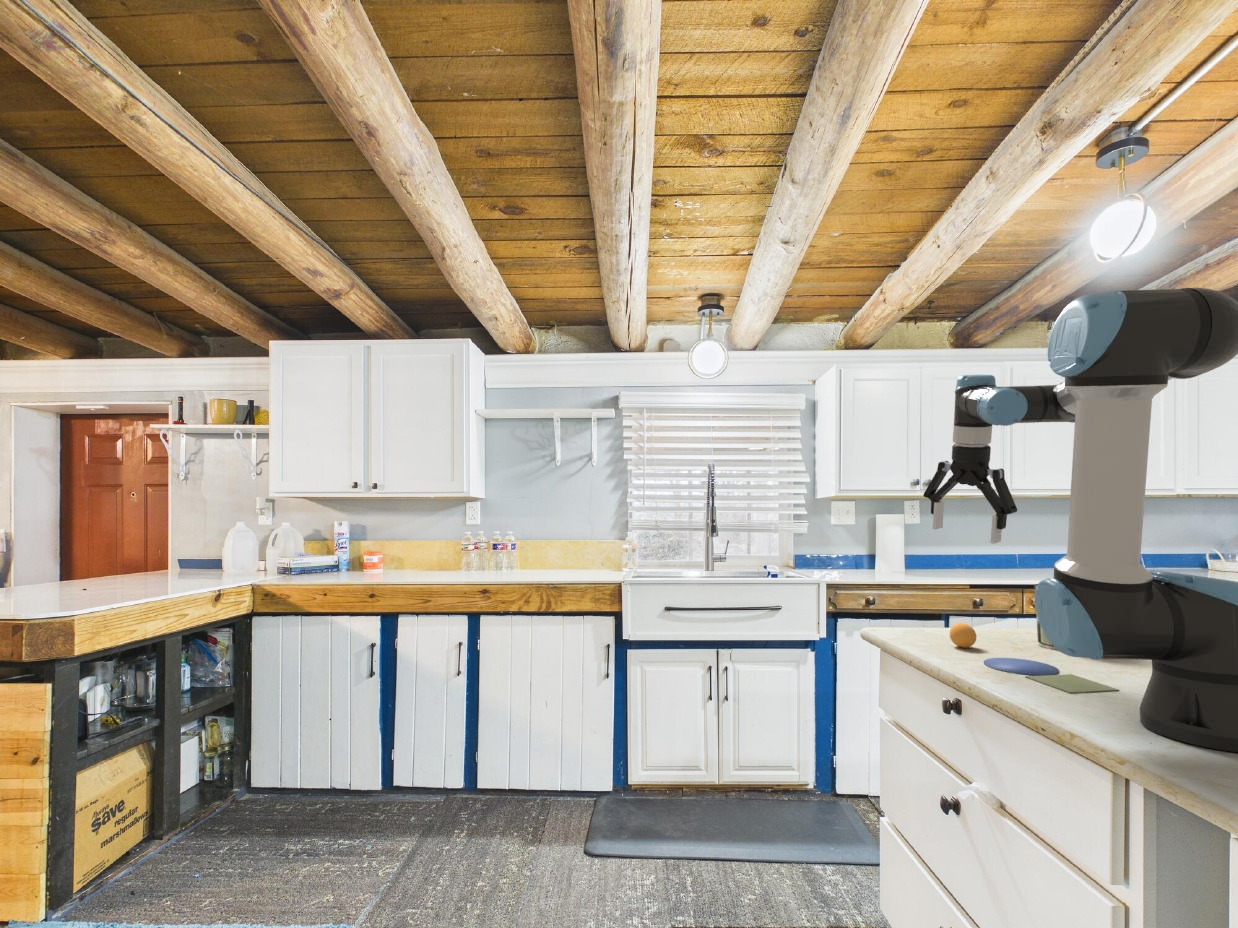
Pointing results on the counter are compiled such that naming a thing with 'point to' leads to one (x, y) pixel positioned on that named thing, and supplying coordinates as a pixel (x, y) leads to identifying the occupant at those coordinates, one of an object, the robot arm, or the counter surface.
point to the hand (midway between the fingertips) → (965, 535)
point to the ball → (963, 635)
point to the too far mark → (1071, 683)
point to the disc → (1021, 666)
